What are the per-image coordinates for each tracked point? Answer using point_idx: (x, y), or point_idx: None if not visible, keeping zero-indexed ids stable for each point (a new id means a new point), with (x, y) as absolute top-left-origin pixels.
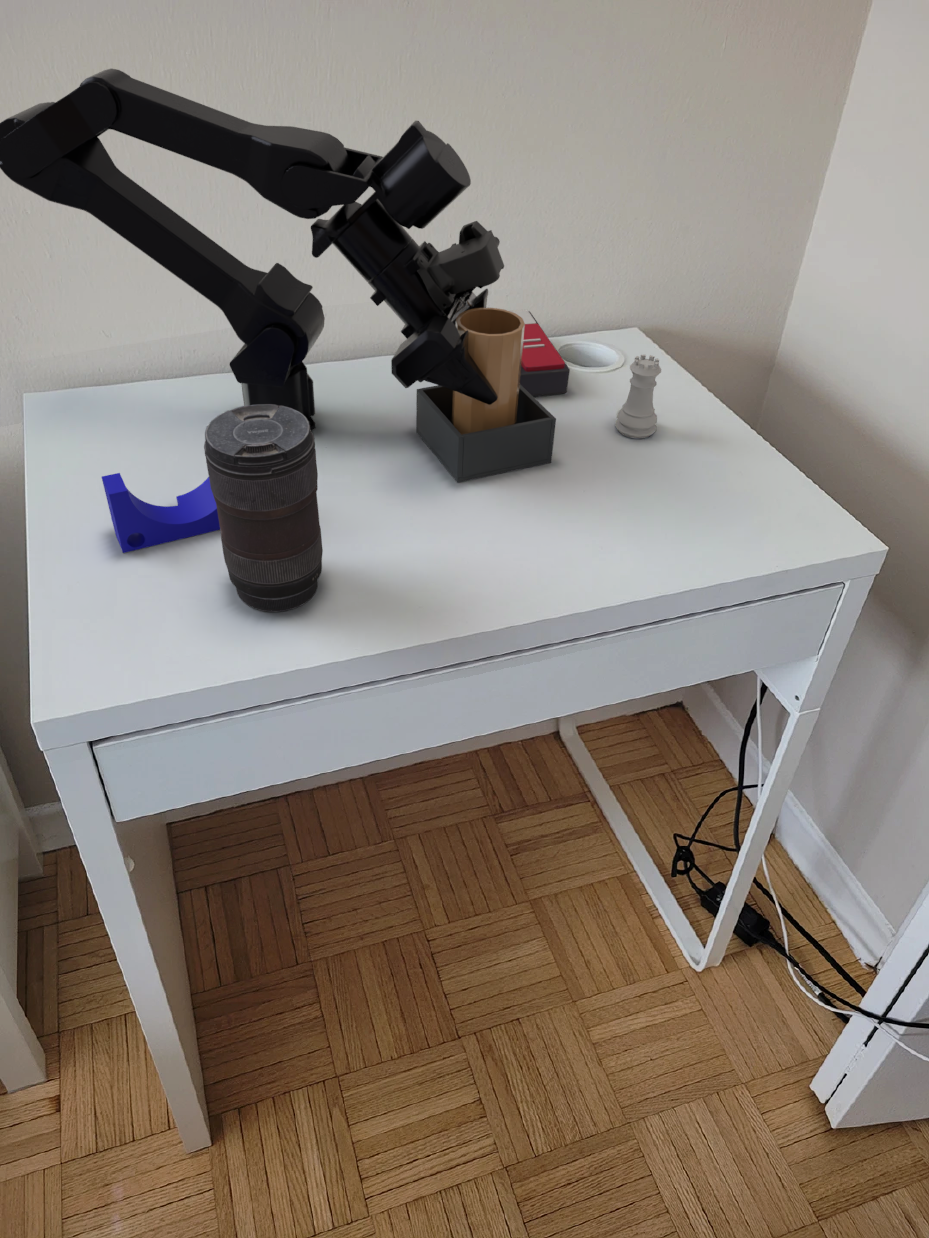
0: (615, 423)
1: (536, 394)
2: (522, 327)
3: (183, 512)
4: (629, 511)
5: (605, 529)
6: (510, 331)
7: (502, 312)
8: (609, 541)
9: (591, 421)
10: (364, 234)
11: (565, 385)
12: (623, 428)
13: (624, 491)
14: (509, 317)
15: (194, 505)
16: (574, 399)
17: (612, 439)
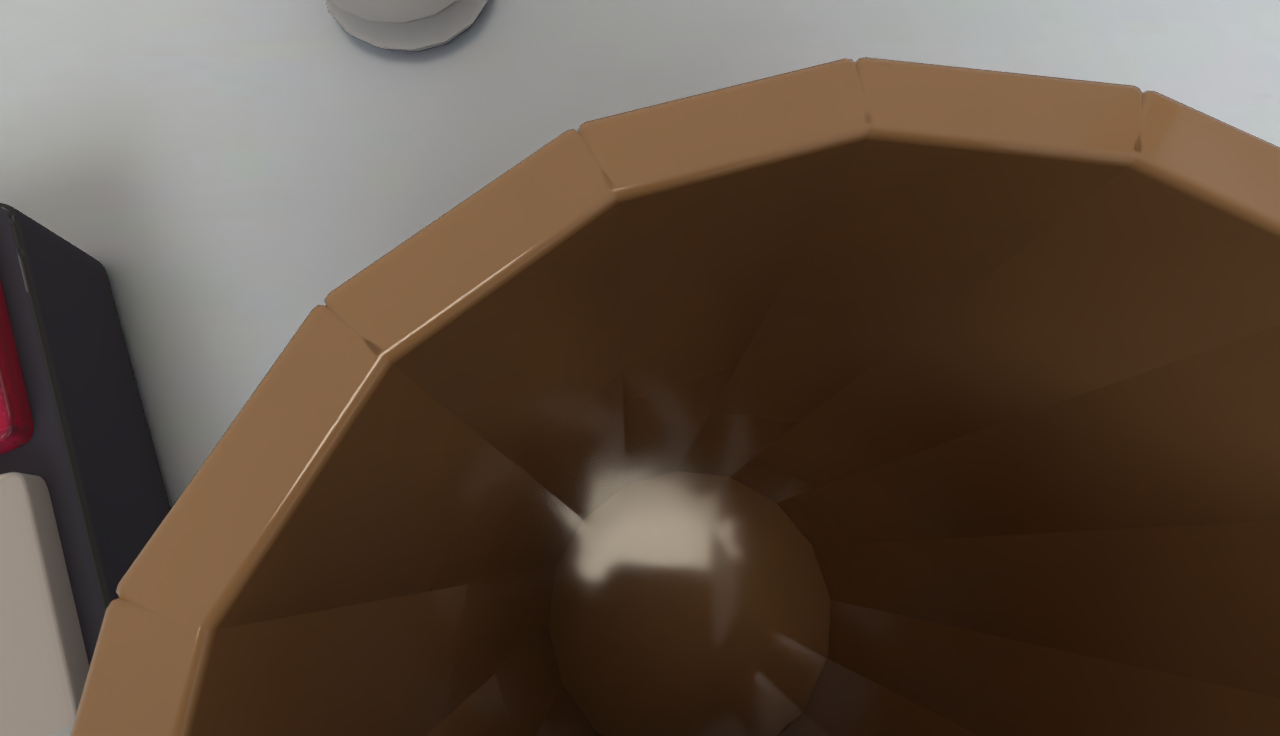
0: (405, 45)
1: (136, 394)
2: (1075, 81)
3: None
4: (1006, 14)
5: (1147, 86)
6: (478, 438)
7: (243, 624)
8: (1213, 73)
9: (362, 148)
10: None
11: (75, 250)
12: (457, 11)
13: (881, 28)
14: (393, 436)
15: None
16: (159, 224)
17: (504, 69)
